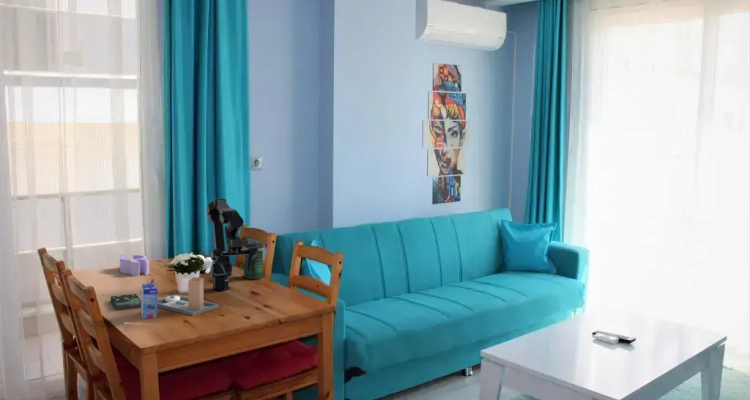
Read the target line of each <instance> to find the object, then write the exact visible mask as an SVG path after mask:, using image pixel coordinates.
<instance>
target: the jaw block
mask: <svg viewBox="0 0 750 400" xmlns="http://www.w3.org/2000/svg"><path fill="white" fill-rule="evenodd" d="M204 281H205V280H204V277H200V276H199V277H198V276H195V277H191V278H190V279H189V280H188V281H187V282H188V283H187V284H188V286H187V287H188V288H187V290H188V293H187V294H188V296H187V297H188V310H195V311H196V310H200V309H202V308H203V307H204V301H205V300H204V299H205V298H204V290H205V289H204V284H205V283H204Z"/></svg>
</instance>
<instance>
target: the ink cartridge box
mask: <svg viewBox="0 0 750 400" xmlns="http://www.w3.org/2000/svg"><path fill="white" fill-rule="evenodd" d="M140 300H141V308H140V313H141V317H142V319H144V320H145V319H157V318H158V307H157V300H158V287H157V283H155V279H154V278H152V279H151V281H150V282H149V283H147V282H146V283H141V299H140Z"/></svg>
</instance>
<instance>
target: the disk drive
mask: <svg viewBox="0 0 750 400" xmlns="http://www.w3.org/2000/svg"><path fill="white" fill-rule="evenodd" d="M110 303H111V304H112V306H113V308H114V310H115V311H124V310H134V309H141V299H140V297H139V295H138V294H137V293H131V294H122V295H120V296H119V295H111V296H110Z"/></svg>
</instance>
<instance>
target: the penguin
mask: <svg viewBox="0 0 750 400" xmlns="http://www.w3.org/2000/svg"><path fill="white" fill-rule="evenodd" d="M196 256H199V257H201V258H202V259H203V261H204V264H203V265H204V266H203V265H202V266H203V269H202V270H201V271H204V270H205V271H204V273H205V274H210V269H211V266H212V261H213V260H211V256H209V257H208V256H207V257H205V256H203V255H202V254H197V255H196Z"/></svg>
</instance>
